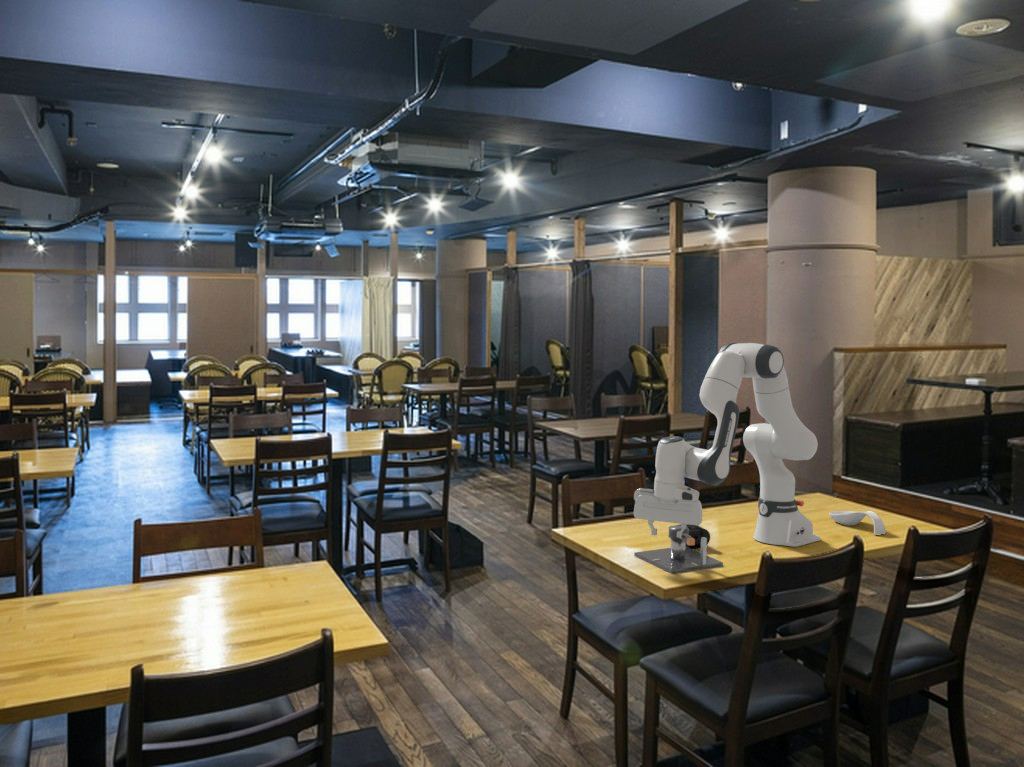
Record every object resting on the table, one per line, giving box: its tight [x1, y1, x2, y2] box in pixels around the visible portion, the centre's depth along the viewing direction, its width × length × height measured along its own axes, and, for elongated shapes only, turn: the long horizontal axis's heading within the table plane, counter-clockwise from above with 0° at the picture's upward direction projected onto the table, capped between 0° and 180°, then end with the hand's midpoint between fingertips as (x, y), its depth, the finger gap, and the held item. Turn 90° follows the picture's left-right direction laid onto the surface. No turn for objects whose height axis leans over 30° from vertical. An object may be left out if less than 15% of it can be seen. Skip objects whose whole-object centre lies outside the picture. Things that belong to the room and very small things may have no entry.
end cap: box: [677, 524, 711, 550], centre depth 263 cm, size 10×7×7 cm
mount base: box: [633, 537, 724, 574], centre depth 245 cm, size 19×19×9 cm
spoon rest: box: [828, 510, 887, 536], centre depth 289 cm, size 24×12×7 cm, turn 17°
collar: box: [668, 524, 695, 545], centre depth 241 cm, size 14×6×3 cm, turn 9°
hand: (666, 536), depth 240 cm, fingers open, 6 cm apart
